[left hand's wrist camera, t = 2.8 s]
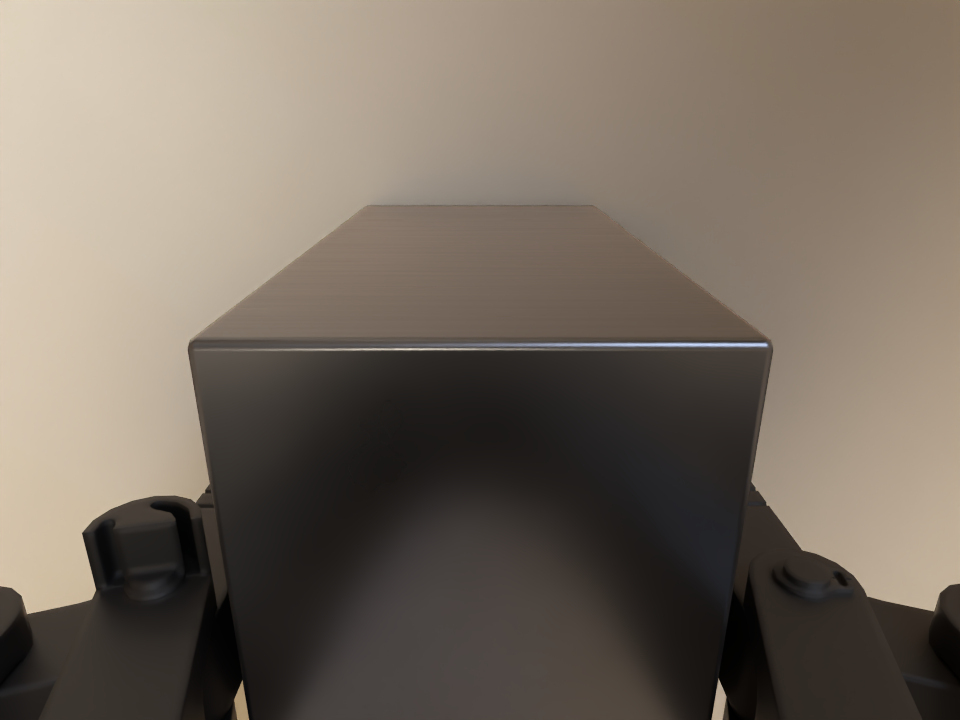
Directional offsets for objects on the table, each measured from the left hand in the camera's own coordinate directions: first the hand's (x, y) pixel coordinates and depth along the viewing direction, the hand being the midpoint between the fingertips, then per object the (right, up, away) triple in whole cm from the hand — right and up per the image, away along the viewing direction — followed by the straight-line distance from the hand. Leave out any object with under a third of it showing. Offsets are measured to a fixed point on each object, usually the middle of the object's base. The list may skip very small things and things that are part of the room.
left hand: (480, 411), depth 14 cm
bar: (0, -6, +3) cm, 7 cm away
